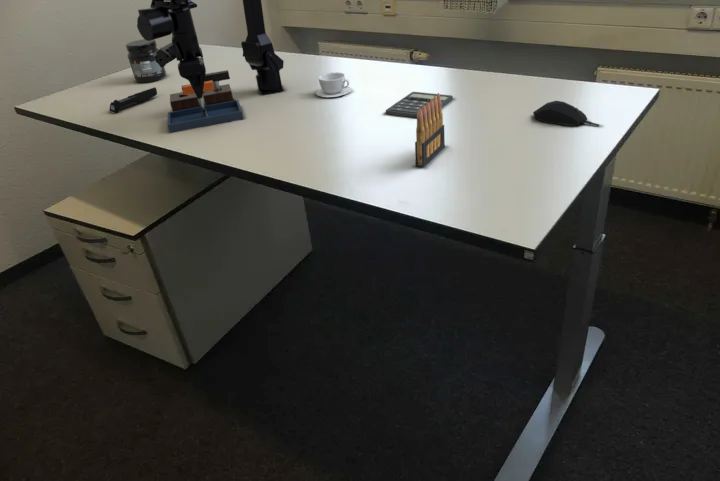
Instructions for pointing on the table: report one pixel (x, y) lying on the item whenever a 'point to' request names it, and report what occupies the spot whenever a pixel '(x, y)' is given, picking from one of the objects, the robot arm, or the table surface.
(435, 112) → the ammunition clip
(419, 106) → the calculator
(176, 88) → the table surface
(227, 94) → the rack
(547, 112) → the gaming mouse
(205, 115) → the t handle
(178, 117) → the tray
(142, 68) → the supplement container
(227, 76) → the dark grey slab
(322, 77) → the teacup
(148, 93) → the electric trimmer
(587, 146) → the table surface
